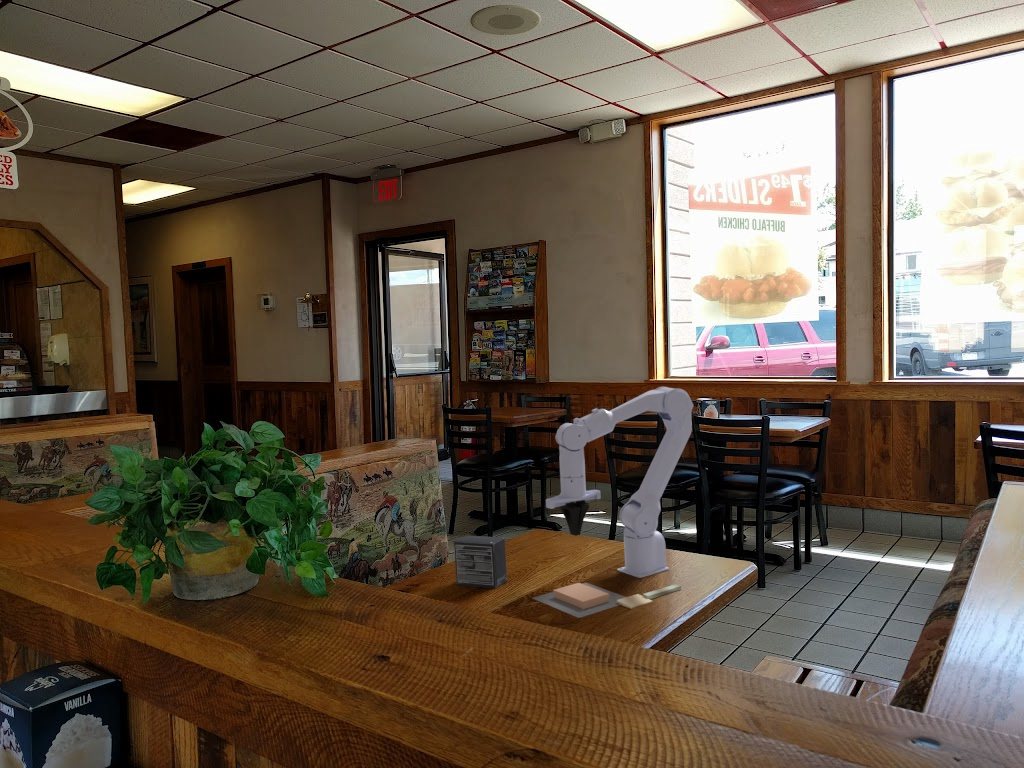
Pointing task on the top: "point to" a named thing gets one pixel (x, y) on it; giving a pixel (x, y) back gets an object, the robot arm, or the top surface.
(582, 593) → the block
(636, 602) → the turner
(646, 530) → the robot arm
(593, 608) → the mat
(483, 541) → the small box
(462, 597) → the top surface
